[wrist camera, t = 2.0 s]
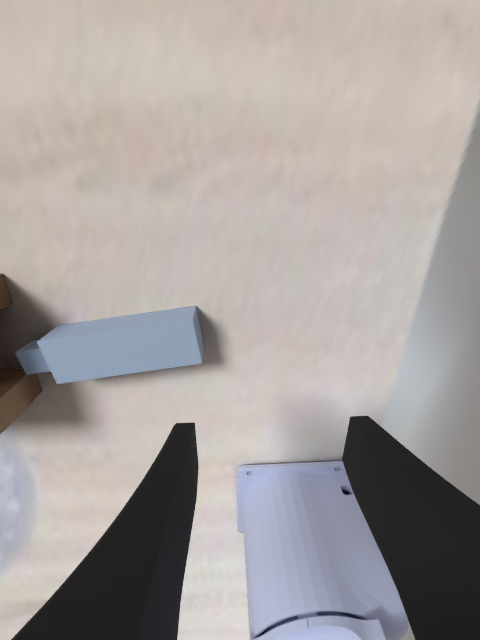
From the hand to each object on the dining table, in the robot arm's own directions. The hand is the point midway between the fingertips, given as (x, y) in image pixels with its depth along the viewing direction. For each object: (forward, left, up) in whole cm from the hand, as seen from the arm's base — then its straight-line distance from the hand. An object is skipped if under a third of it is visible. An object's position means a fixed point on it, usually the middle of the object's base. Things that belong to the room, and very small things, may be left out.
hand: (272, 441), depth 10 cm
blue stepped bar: (+7, 0, -9) cm, 12 cm away
